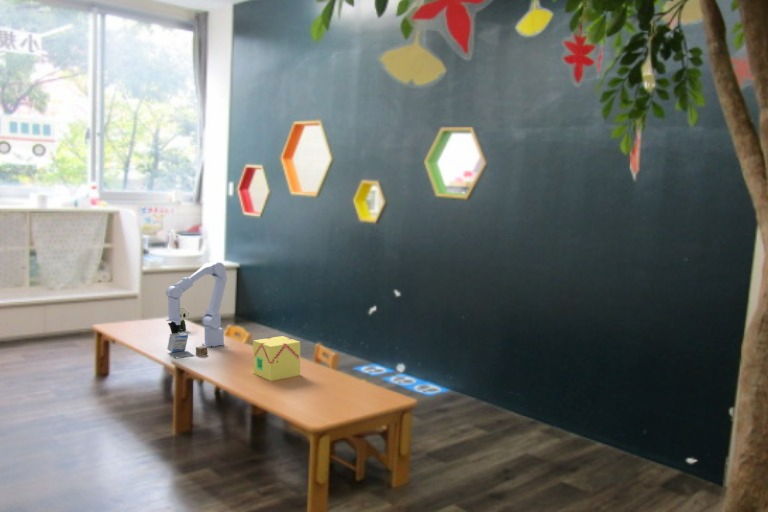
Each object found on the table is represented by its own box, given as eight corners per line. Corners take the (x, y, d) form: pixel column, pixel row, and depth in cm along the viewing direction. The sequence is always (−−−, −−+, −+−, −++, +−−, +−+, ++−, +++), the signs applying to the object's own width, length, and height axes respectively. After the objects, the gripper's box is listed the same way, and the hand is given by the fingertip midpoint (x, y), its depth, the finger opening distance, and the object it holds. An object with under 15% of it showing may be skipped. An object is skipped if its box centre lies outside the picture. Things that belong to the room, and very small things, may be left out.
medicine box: (171, 352, 320) (175, 336, 318) (166, 349, 323) (170, 333, 321) (185, 350, 326) (188, 335, 325) (180, 347, 329) (183, 331, 327)
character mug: (173, 332, 368) (172, 310, 367) (169, 330, 374) (168, 308, 372) (191, 330, 375) (191, 308, 373) (187, 328, 380) (187, 306, 379)
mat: (187, 351, 325) (187, 350, 325) (193, 356, 316) (193, 355, 316) (169, 353, 320) (169, 353, 320) (175, 358, 312) (175, 357, 312)
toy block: (253, 373, 288) (253, 340, 286) (282, 367, 297) (282, 335, 296) (270, 381, 276) (270, 346, 275) (300, 375, 286) (300, 341, 285)
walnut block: (203, 353, 321) (202, 345, 321) (207, 355, 319) (207, 347, 318) (195, 355, 318) (195, 347, 318) (200, 356, 316) (200, 348, 315)
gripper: (162, 308, 328) (163, 334, 329) (170, 313, 316) (170, 340, 317) (176, 307, 332) (177, 333, 333) (184, 311, 320) (185, 338, 321)
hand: (174, 336), depth 325 cm, fingers closed
